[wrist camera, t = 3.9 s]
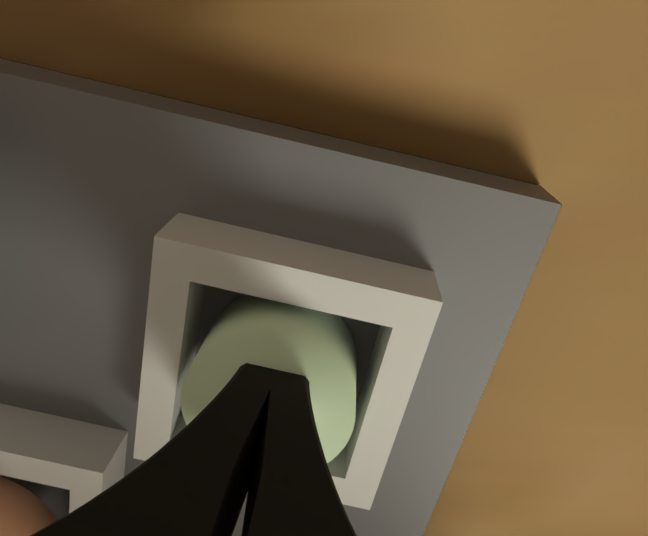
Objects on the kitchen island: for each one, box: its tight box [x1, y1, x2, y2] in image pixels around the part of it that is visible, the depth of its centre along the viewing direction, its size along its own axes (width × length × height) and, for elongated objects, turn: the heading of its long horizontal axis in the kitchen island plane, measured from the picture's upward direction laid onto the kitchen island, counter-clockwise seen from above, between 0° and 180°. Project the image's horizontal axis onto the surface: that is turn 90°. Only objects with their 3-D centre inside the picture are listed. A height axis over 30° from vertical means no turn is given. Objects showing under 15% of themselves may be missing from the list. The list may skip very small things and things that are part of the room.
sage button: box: [181, 294, 357, 463], centre depth 12 cm, size 4×4×2 cm
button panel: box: [0, 58, 562, 536], centre depth 14 cm, size 15×18×3 cm
